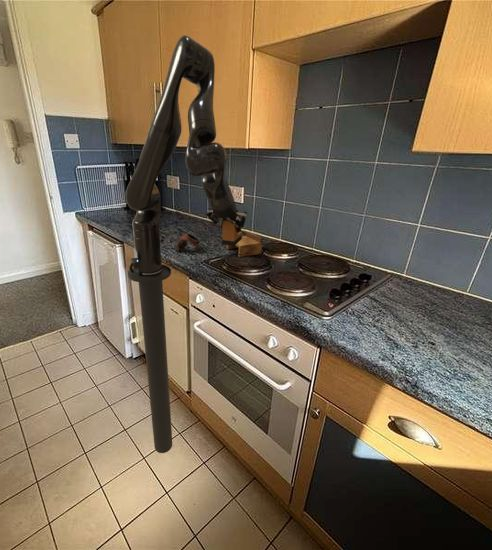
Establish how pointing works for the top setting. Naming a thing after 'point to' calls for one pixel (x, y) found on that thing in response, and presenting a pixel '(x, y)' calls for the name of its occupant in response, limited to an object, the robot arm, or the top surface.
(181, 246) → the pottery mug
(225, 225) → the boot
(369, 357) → the top surface
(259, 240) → the tan wooden block
